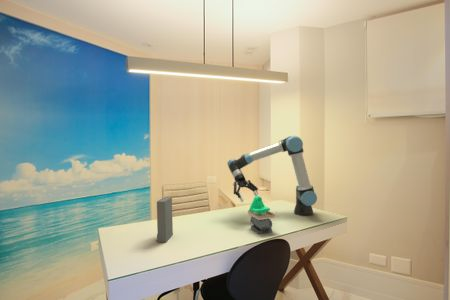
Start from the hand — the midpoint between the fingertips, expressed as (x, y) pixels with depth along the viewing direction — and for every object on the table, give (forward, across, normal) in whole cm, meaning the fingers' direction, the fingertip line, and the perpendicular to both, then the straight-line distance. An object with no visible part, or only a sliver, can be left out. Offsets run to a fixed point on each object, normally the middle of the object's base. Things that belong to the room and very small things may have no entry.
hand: (250, 200), depth 195 cm
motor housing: (+21, 0, -4) cm, 22 cm away
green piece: (+12, 0, +3) cm, 13 cm away
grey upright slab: (+7, +61, -18) cm, 64 cm away
